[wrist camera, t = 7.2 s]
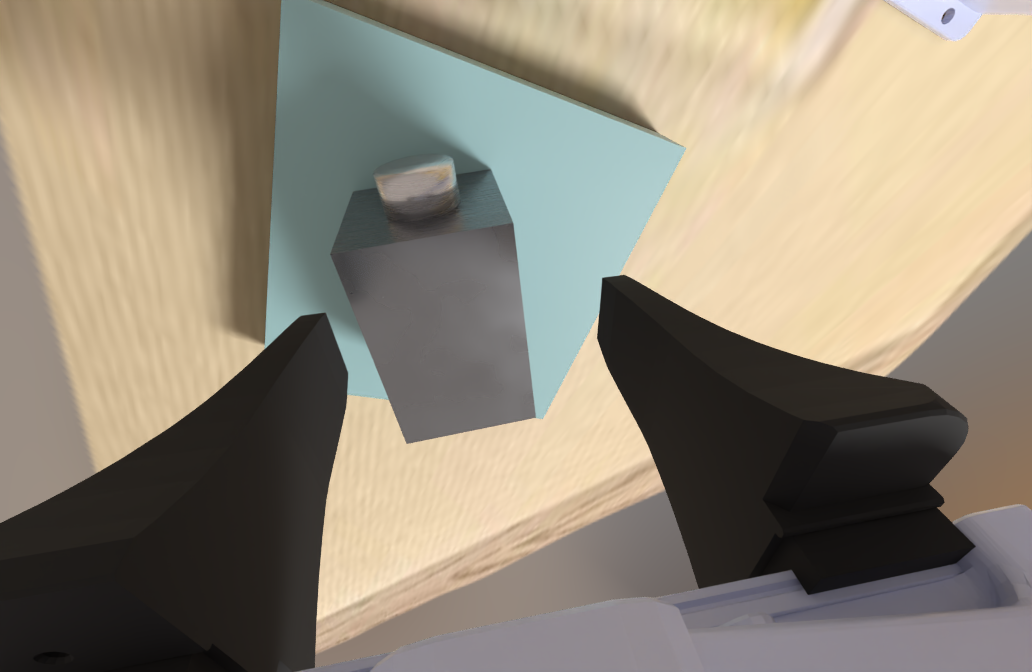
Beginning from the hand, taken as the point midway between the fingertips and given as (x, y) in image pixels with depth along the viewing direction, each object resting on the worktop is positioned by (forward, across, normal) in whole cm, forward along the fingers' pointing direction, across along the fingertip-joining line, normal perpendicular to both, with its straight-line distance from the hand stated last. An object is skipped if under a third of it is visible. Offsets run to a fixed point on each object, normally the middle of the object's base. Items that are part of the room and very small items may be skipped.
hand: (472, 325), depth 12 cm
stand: (+9, 0, +2) cm, 10 cm away
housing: (+7, +1, +2) cm, 7 cm away
